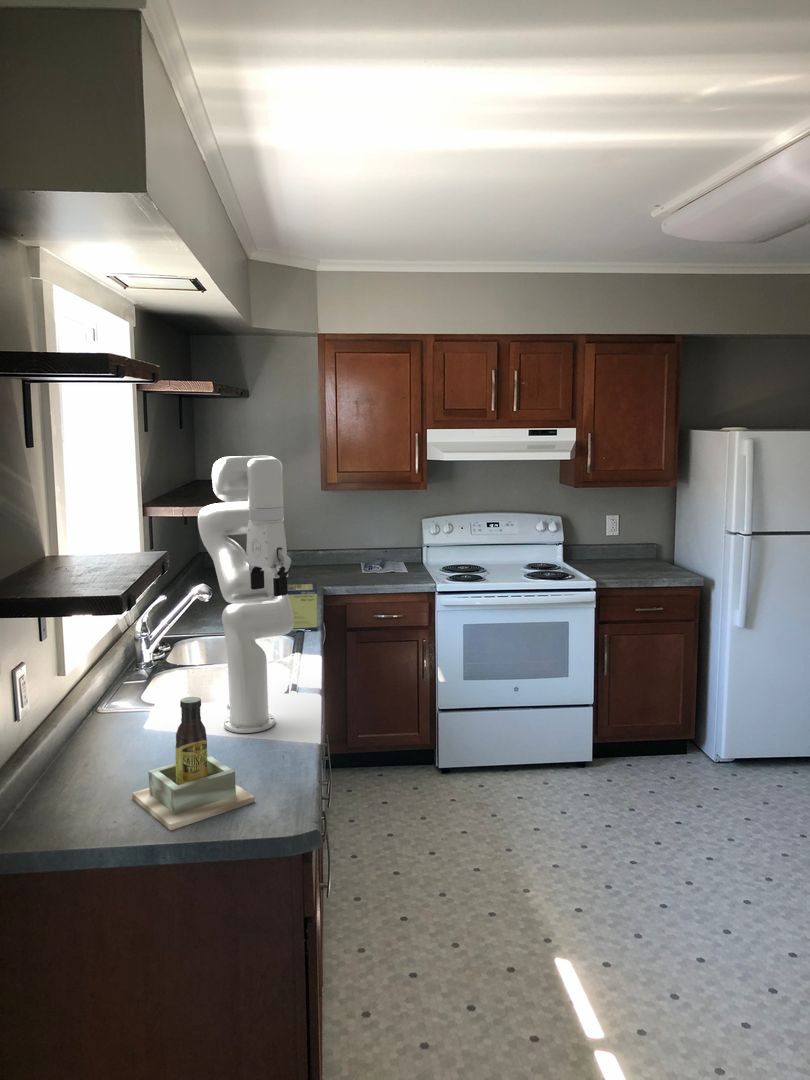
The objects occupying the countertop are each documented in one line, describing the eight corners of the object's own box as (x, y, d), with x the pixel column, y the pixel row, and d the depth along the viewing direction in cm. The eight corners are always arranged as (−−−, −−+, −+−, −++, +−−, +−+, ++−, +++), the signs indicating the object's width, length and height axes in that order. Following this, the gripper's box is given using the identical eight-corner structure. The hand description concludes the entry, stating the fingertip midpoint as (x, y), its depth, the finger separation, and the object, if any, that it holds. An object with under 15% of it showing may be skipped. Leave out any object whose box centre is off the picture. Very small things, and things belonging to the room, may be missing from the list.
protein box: (318, 631, 306) (317, 588, 304) (274, 633, 304) (273, 590, 302) (317, 624, 317) (316, 583, 314) (275, 626, 314) (273, 584, 312)
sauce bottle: (183, 804, 168) (178, 707, 165) (171, 793, 173) (166, 699, 170) (214, 795, 172) (210, 700, 169) (202, 784, 177) (197, 692, 174)
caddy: (132, 798, 173) (130, 769, 172) (212, 774, 185) (211, 746, 184) (170, 830, 160) (168, 799, 159) (254, 802, 171) (253, 772, 170)
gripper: (231, 513, 190) (234, 588, 192) (272, 520, 176) (274, 600, 179) (261, 510, 194) (263, 584, 197) (302, 516, 181) (304, 595, 184)
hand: (269, 592), depth 188 cm, fingers open, 9 cm apart
